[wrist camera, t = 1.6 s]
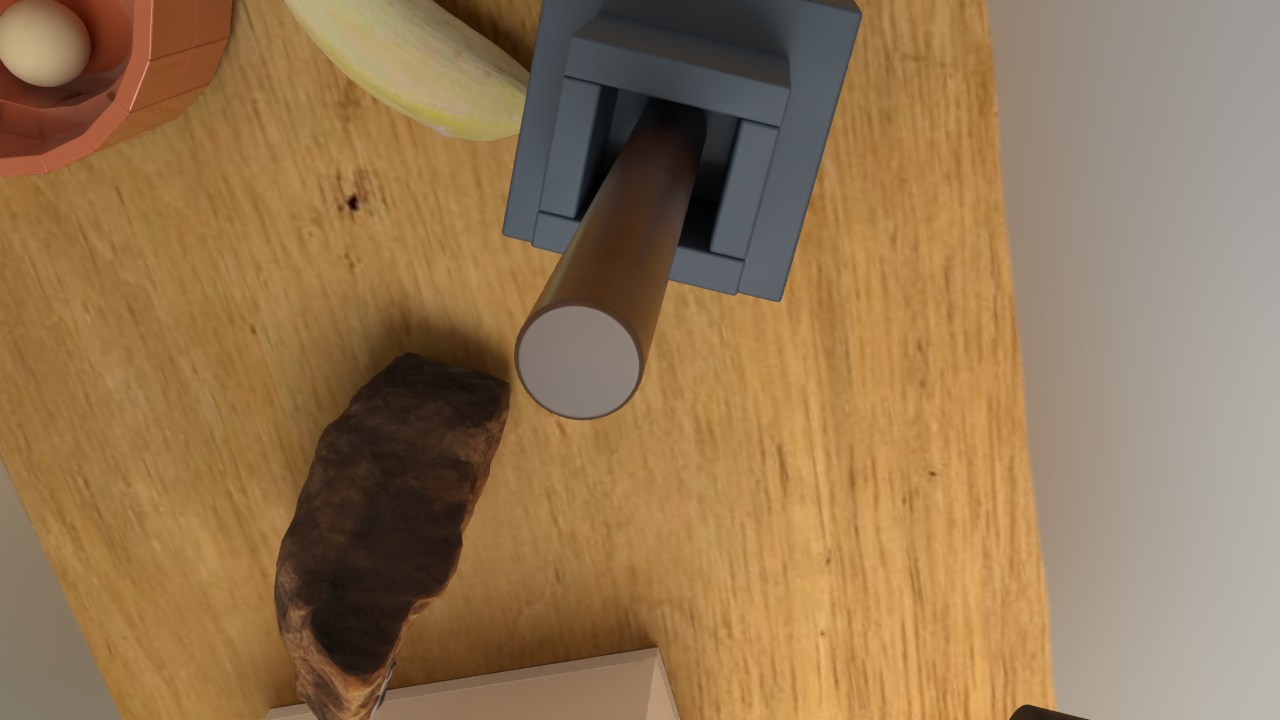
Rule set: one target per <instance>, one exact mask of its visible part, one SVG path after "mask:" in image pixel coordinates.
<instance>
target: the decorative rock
mask: <svg viewBox="0 0 1280 720" xmlns="http://www.w3.org/2000/svg"><path fill="white" fill-rule="evenodd" d="M510 394H511V385H510V383H509V382H506V381H503V380H500V379H498V378H495V377H492V376H490V375H487V374H484V373H482V372H479V371H476V370H473V369H469V368H465V367H460V366H456V365H451V364H447V363H444V362H441V361H438V360H436V359H432V358H428V357H425V356H422V355H420V354H414V353H410V352H408V353H405V355H404V356H400V357H396V358H395V359H394V360H393V362H392V363H391V364H390V365H388V366H387V367H386V368H385V369H383V370H382V371H381V372H379V373H378V374H377V375H375V376H374V377H373V378H372V379H371V380H370V381H369V382H368V383H367V384H366V385H364V386H363V387H361V388H360V390H359V391H358V393H357V394H356V395H354V396H353V397H352V399H351V401H350V404H349V406H348V408H347V409H346V410H345V411H344V412H343V414H342V415H341V416H340V417H339V418H338V419H337V420H335V421H334V422H332V423H331V424H329V425H328V426H327V427H326V428H325V430H324V432H323V434H322V436H321V438H320V439H319V441H318V445H317V448H316V452H315V457H314V459H313V462H312V465H311V467H310V471H309V476H308V479H307V480H306V482H305V484H304V486H303V488H302V491H301V493H300V496H299V498H298V502H297V507H296V511H295V515H294V518H293V520H292V522H291V524H290V526H289V528H288V530H287V532H286V534H285V536H284V538H283V540H282V542H281V547H280V551H279V555H278V560H277V564H276V567H277V572H276V578H275V586H274V601H275V609H276V616H277V623H278V628H279V633H280V636H281V638H282V641H283V644H284V646H285V649H286V650H287V651H288V652H289V653H290V654H291V655H292V656H293V658H294V660H295V663H296V664H295V666H296V679H295V692H296V694H297V697H298V698H299V699H301V700H303V701H305V702H306V704H307V706H308V708H309V710H310V711H311V712H312V713H313V714H314V715H315V716H316V717H317V719H318V720H371V719H372V717H373V716H374V715H377V714H378V712H379V710H380V708H381V707H382V705H383V701H384V698H385V694H386V690H387V687H388V680H389V679H390V677H391V675H392V671H393V668H394V665H396V658H397V655H398V652H399V650H400V648H401V646H402V644H403V642H404V640H405V638H406V636H407V633H408V631H409V628H410V625H411V623H412V621H413V619H414V617H416V616H418V615H420V614H422V613H423V612H424V610H425V609H426V608H427V607H428V606H429V604H430V603H432V602H434V601H435V600H437V599H439V598H440V597H442V596H443V594H444V592H445V590H446V588H447V585H448V583H449V581H450V579H451V578H452V577H453V575H454V574H455V572H456V569H457V566H458V562H459V558H460V555H461V550H462V546H463V542H462V535H463V533H464V531H465V529H466V527H467V525H468V523H469V521H470V520H471V518H472V515H473V511H474V507H475V505H476V503H477V501H478V499H479V498H480V496H481V494H482V492H483V489H484V487H485V484H486V481H487V479H488V476H489V471H490V464H491V461H492V459H493V457H494V455H495V453H496V450H497V448H498V446H499V443H500V440H501V436H502V433H503V430H504V426H505V423H506V419H507V415H508V411H509V401H510Z"/></svg>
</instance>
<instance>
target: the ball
mask: <svg viewBox="0 0 1280 720" xmlns="http://www.w3.org/2000/svg"><path fill="white" fill-rule="evenodd" d="M90 54H91V42H90V37H89V33H88V31H87V29H86V27H85V25H84V23H83V22H82V20H81V19H80V18H79V17H78V16H77V15H76V14H75V13H74V12H73V11H72V10H71V9H69V8H68V7H66V6H65V5H63V4H61V3H58V2H56V1H53V0H22V1H19V2H17V3H15V4H13V5H12V6H10V7H9V8H8V9H7V10H6V11H5V12H4V13H3V14H2V15H1V17H0V59H1V60H2V62H3V63H4V65H5V66H6V67H7V68H8V70H9V71H10V72H12V73H13V74H14V75H15V76H17V77H18V78H20V79H21V80H23V81H25V82H27V83H30V84H33V85H37V86H42V87H54V86H60V85H64V84H66V83H68V82H71V81H72V80H74V79H75V78H77V77H78V76H79V75H80V74H81V73H82V72H83V71H84V69H85V68H86V66H87V64H88V61H89V58H90Z"/></svg>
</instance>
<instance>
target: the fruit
mask: <svg viewBox="0 0 1280 720" xmlns="http://www.w3.org/2000/svg"><path fill="white" fill-rule="evenodd" d="M283 1H284V3H285V4H286V6H287V7H288V9H289V10H290V12H291V13H292V15H293V16H294V18H295V19H296V20H297V22H298V23H299V24H300V26H301V27H302V28H303V29H304V31H305V32H306V33H307V34H308V36H309V37H310V38H311V39H312V40H313V42H314V43H315V44H316V45H317V46H318V47H319V48H320V49H321V50H322V51H323V53H324V54H325V55H326V56H327V57H328V58H329V59H330V60H331V61H332V62H333V63H334V64H335V65H336V66H337V67H338V68H339V69H340V70H341V71H342V72H343V73H344V74H345V75H346V76H347V77H349V78H350V79H351V80H352V81H353V82H355V83H356V84H357V85H358V86H360V87H361V88H362V89H363V90H365V91H366V92H367V93H369V94H370V95H372V96H373V97H374V98H376V99H377V100H379V101H380V102H382V103H384V104H385V105H387V106H389V107H390V108H392V109H394V110H396V111H397V112H399V113H401V114H403V115H405V116H407V117H410V118H412V119H414V120H416V121H417V122H419V123H421V124H423V125H425V126H427V127H429V128H431V129H433V130H435V131H436V132H437V133H438V134H440V135H442V136H444V137H447V138H460V139H463V140H467V141H485V142H486V141H494V140H498V139H502V138H506V137H510V136H514V135H518V134H519V133H520V127H521V122H522V116H523V110H524V105H525V99H526V93H527V88H528V82H529V76H530V72H528V71H527V70H526V69H525V68H524V67H523V66H522V65H521V64H519V63H518V62H517V61H516V60H515V59H513V58H512V57H511V56H510V55H508V54H507V53H506V52H505V51H503V50H502V49H501V48H499V47H498V46H497V45H495V44H494V43H493V42H491V41H490V40H488V39H487V38H485V37H484V36H482V35H481V34H479V33H478V32H476V31H475V30H473V29H472V28H470V27H469V26H468V25H466V24H465V23H463V22H462V21H461V20H459V19H458V18H456V17H455V16H453V15H452V14H450V13H449V12H447V11H446V10H444V9H443V8H442V7H440V6H439V5H438V4H437V3H435V2H434V1H433V0H283Z"/></svg>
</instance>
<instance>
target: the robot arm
mask: <svg viewBox="0 0 1280 720" xmlns="http://www.w3.org/2000/svg"><path fill="white" fill-rule="evenodd" d="M1010 720H1088V719H1084V718H1080V717H1076V716H1072V715H1068V714H1064V713H1060V712H1056V711H1052V710H1048V709H1044V708H1040V707H1036V706H1032V705H1028V704H1027V705H1023V706H1021V707H1020V708H1018V709H1017V710H1016V711H1015V712H1014V714H1013V715H1012V716H1011V718H1010Z"/></svg>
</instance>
